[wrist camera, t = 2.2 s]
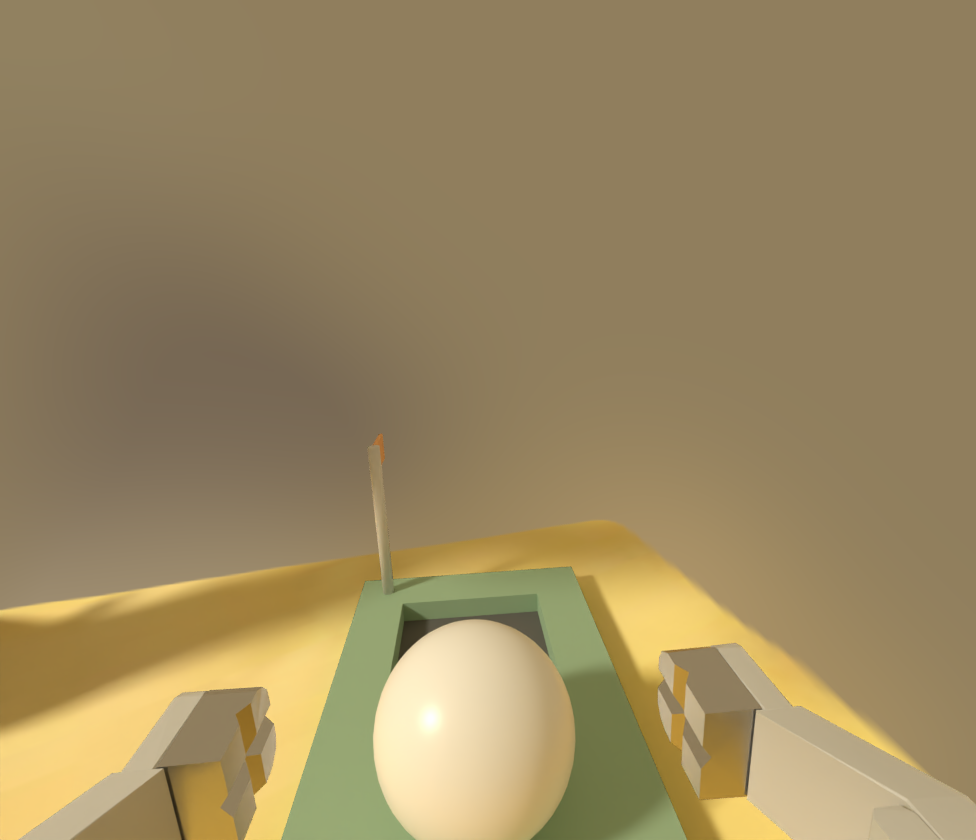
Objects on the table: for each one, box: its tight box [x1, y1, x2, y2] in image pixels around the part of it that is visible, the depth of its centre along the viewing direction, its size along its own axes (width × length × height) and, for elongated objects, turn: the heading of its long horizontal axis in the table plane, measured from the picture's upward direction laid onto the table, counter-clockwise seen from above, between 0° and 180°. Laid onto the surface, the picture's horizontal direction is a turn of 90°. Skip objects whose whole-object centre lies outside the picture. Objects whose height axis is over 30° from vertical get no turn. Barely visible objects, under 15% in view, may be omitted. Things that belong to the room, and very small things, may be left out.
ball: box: [373, 619, 576, 840], centre depth 24 cm, size 10×10×10 cm
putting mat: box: [281, 434, 687, 840], centre depth 32 cm, size 32×20×16 cm, turn 4°
